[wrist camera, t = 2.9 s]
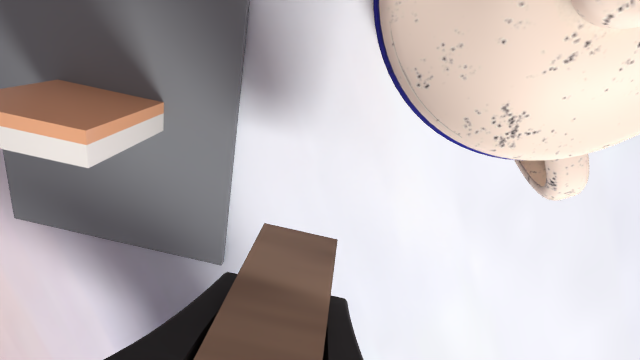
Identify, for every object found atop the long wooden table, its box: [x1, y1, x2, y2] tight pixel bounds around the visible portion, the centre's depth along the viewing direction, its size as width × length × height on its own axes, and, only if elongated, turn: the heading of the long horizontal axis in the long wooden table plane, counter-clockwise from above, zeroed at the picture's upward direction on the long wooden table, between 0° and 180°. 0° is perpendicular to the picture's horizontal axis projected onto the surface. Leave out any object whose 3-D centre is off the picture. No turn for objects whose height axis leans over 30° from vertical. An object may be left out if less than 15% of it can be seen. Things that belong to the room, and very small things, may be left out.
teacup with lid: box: [373, 0, 640, 200], centre depth 12 cm, size 12×9×12 cm
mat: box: [0, 0, 249, 265], centre depth 21 cm, size 16×14×1 cm
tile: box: [0, 80, 164, 168], centre depth 17 cm, size 2×6×6 cm, turn 79°
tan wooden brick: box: [194, 223, 337, 360], centre depth 12 cm, size 3×3×7 cm
